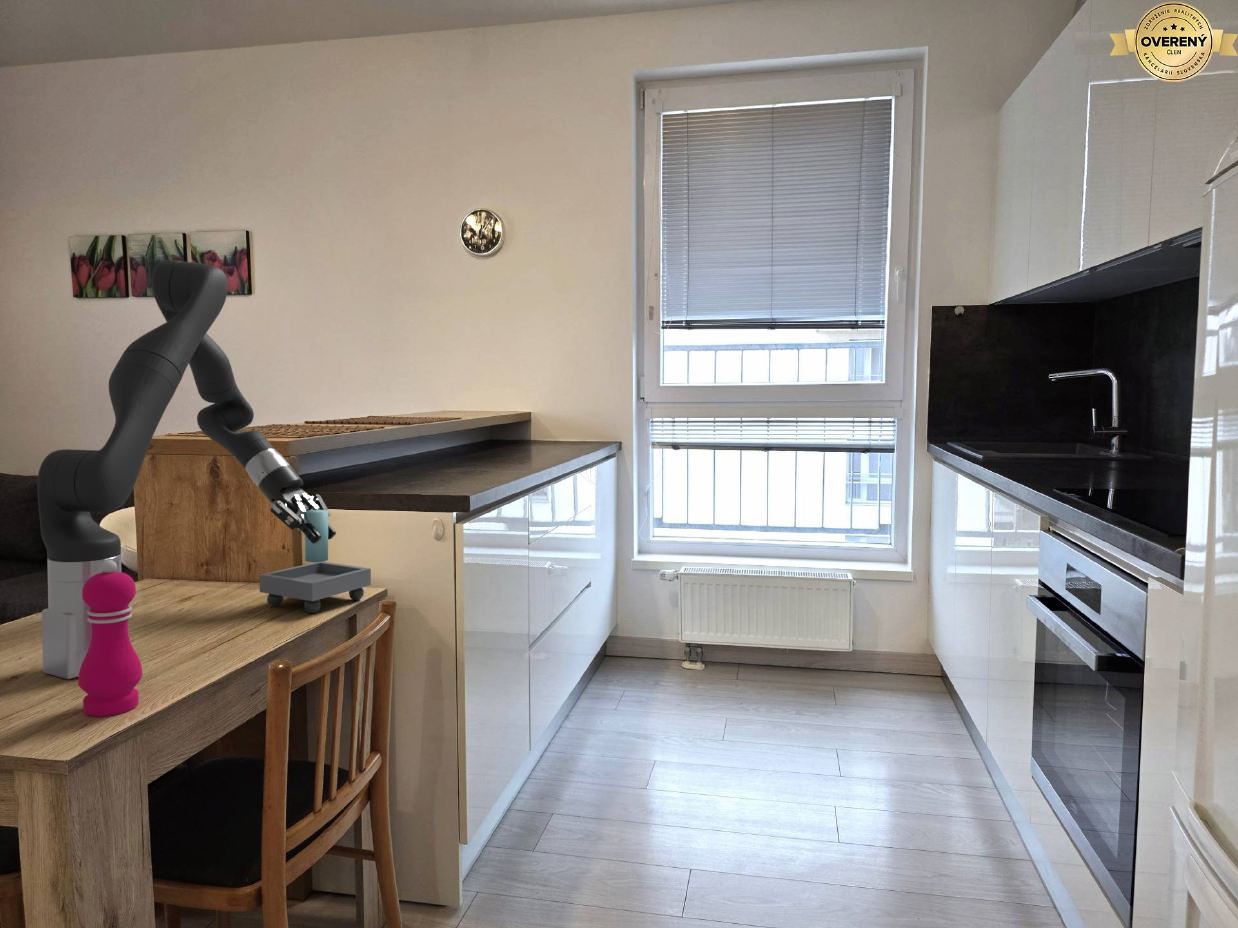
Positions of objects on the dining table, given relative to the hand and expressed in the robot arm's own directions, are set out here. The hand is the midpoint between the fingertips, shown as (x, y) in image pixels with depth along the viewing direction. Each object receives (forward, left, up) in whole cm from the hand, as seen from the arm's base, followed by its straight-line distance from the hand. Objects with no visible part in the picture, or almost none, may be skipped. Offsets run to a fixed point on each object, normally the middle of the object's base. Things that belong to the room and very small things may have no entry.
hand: (325, 538), depth 161 cm
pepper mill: (-54, -16, -14) cm, 58 cm away
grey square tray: (0, +2, -13) cm, 14 cm away
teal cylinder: (0, +2, -5) cm, 5 cm away
